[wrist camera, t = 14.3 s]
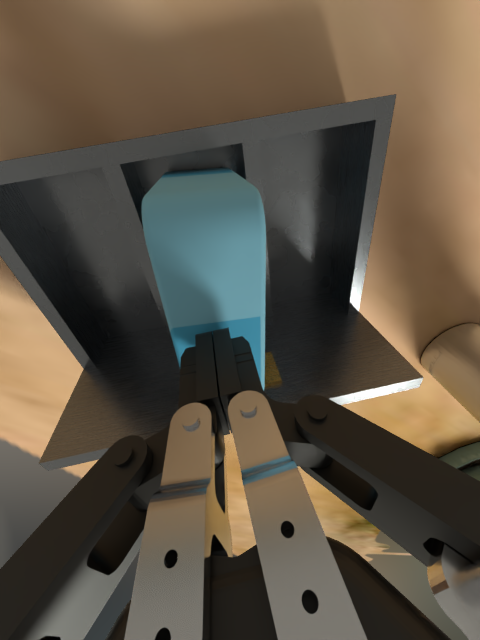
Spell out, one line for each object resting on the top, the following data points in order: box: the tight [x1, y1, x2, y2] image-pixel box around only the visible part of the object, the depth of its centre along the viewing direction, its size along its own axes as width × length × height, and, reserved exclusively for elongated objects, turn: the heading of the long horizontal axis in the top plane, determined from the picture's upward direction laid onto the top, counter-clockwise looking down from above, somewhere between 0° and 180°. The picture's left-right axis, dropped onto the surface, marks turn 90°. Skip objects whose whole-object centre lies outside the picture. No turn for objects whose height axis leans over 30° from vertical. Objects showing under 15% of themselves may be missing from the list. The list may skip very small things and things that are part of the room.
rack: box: [0, 94, 423, 471], centre depth 17 cm, size 25×16×14 cm, turn 98°
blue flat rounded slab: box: [142, 167, 266, 391], centre depth 17 cm, size 12×4×12 cm, turn 3°
